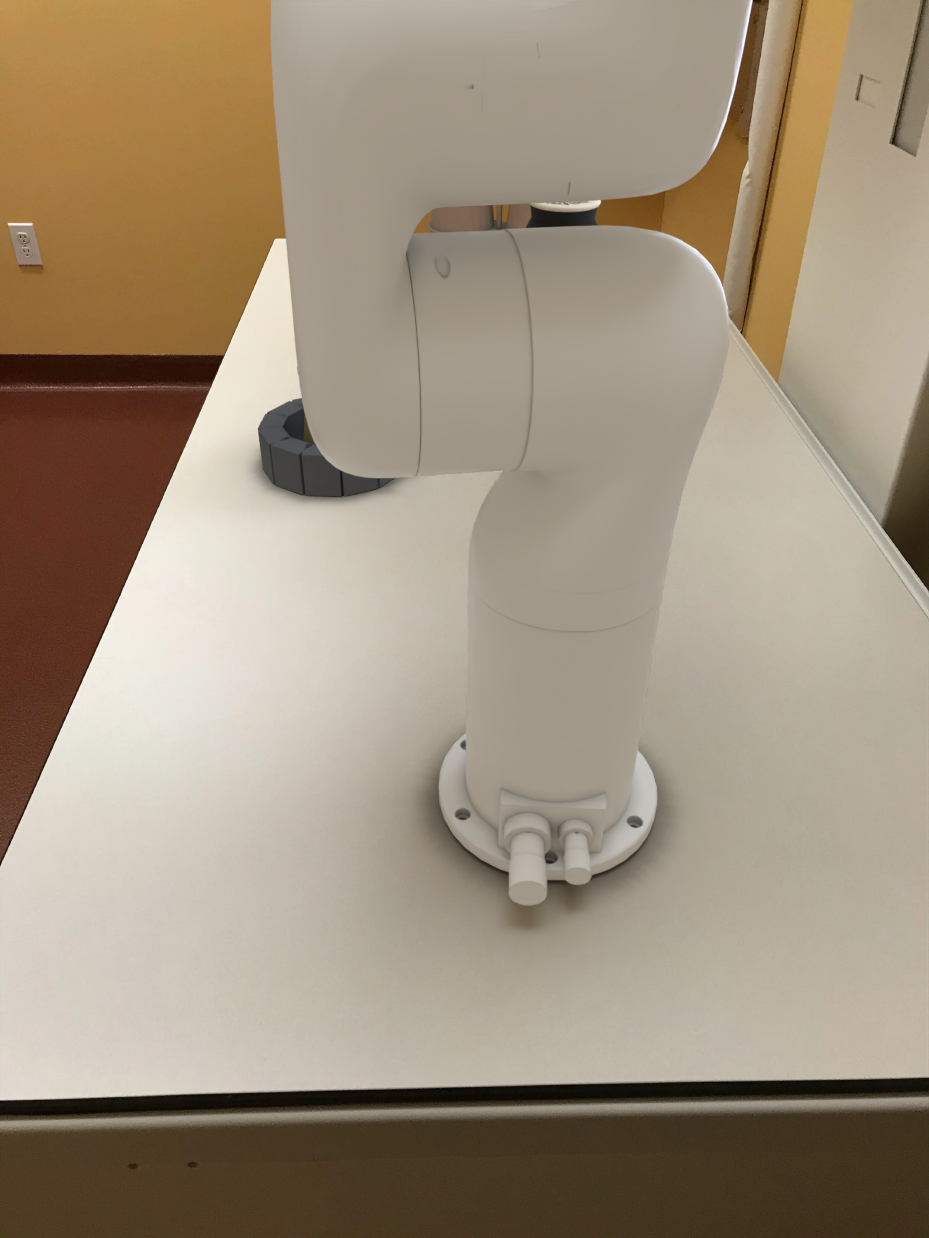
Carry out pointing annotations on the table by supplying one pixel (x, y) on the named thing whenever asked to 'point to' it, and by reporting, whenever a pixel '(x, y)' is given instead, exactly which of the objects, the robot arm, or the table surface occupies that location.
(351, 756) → the table surface
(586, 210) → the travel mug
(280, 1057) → the table surface
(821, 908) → the table surface
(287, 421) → the segmented block ring
